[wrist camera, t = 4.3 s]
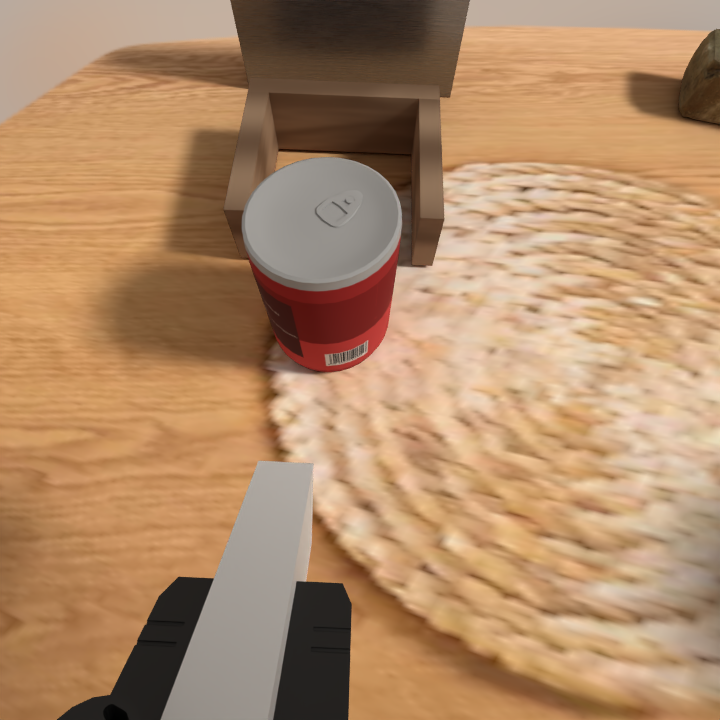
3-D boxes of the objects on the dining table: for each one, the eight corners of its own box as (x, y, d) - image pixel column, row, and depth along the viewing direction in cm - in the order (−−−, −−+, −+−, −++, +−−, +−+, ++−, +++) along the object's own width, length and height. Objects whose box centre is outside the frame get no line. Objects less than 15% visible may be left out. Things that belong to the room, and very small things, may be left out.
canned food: (407, 304, 33) (430, 190, 23) (351, 397, 30) (350, 312, 20) (315, 259, 35) (299, 134, 25) (253, 344, 32) (206, 241, 22)
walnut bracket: (432, 265, 34) (444, 219, 30) (240, 257, 34) (223, 209, 30) (429, 141, 39) (439, 85, 35) (262, 134, 39) (250, 78, 35)
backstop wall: (449, 97, 42) (484, -70, 31) (249, 88, 42) (212, -81, 31) (448, 74, 43) (481, -94, 32) (254, 66, 43) (220, -104, 32)
